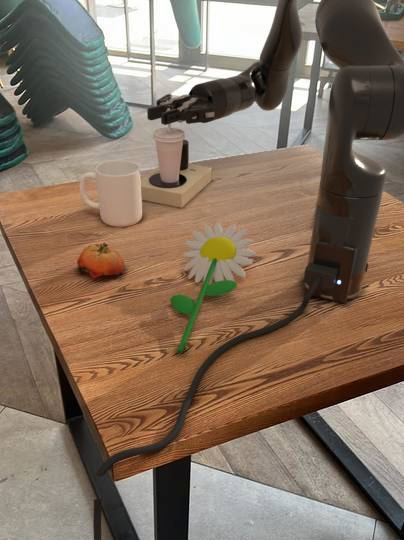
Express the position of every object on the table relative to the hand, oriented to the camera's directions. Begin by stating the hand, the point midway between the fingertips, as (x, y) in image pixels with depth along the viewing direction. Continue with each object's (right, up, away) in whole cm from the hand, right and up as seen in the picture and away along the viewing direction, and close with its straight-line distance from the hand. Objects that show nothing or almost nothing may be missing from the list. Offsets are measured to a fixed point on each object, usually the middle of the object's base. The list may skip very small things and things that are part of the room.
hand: (155, 116), depth 111 cm
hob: (+3, -10, +14) cm, 17 cm away
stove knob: (+4, -4, +16) cm, 17 cm away
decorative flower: (+9, -37, -19) cm, 43 cm away
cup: (-9, -19, +3) cm, 21 cm away
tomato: (-8, -32, -13) cm, 36 cm away
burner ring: (+2, -9, +10) cm, 14 cm away
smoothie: (+2, -9, +10) cm, 14 cm away
